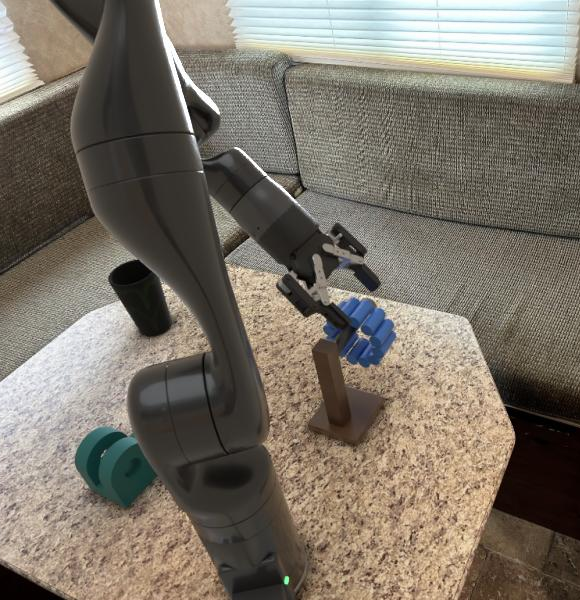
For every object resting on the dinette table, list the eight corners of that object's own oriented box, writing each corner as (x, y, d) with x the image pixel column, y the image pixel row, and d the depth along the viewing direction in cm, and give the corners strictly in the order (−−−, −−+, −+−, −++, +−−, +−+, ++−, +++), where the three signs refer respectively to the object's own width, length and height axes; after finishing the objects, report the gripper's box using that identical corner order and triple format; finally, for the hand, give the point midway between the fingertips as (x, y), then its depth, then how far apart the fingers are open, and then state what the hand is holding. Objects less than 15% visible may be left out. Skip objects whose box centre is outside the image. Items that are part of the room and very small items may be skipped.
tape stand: (357, 446, 84) (341, 366, 74) (308, 429, 87) (286, 351, 77) (401, 375, 93) (392, 296, 84) (356, 362, 96) (342, 285, 87)
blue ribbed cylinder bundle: (387, 373, 85) (376, 322, 79) (331, 359, 89) (316, 309, 83) (400, 354, 88) (390, 303, 82) (344, 341, 92) (331, 292, 86)
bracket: (126, 508, 79) (102, 472, 74) (91, 490, 82) (66, 454, 77) (217, 410, 91) (202, 373, 86) (183, 397, 94) (167, 361, 89)
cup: (148, 311, 112) (124, 257, 104) (185, 313, 110) (163, 259, 102) (125, 339, 106) (98, 284, 98) (164, 342, 104) (140, 287, 97)
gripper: (254, 235, 72) (352, 329, 74) (316, 179, 81) (401, 264, 84) (230, 263, 77) (322, 350, 80) (291, 208, 87) (371, 287, 89)
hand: (362, 306), depth 82 cm, fingers open, 8 cm apart
